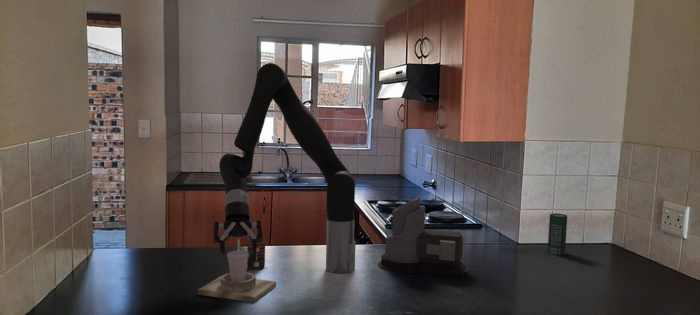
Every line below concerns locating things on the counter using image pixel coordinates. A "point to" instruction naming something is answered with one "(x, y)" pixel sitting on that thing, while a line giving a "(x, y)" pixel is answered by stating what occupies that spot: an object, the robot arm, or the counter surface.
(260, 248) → the supplement bottle
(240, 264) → the smoothie
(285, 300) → the counter surface
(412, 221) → the juicer
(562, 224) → the can
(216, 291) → the socket board
